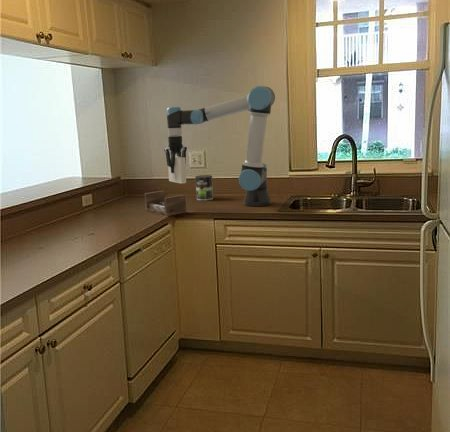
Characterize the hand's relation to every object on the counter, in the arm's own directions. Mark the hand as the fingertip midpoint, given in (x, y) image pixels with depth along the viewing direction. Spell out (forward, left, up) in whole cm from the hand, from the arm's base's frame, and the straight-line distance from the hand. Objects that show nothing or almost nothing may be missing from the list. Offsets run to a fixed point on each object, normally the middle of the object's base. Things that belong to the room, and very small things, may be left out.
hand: (177, 178), depth 292 cm
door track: (0, +9, -17) cm, 20 cm away
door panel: (0, 0, -2) cm, 2 cm away
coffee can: (+14, -27, -17) cm, 35 cm away
